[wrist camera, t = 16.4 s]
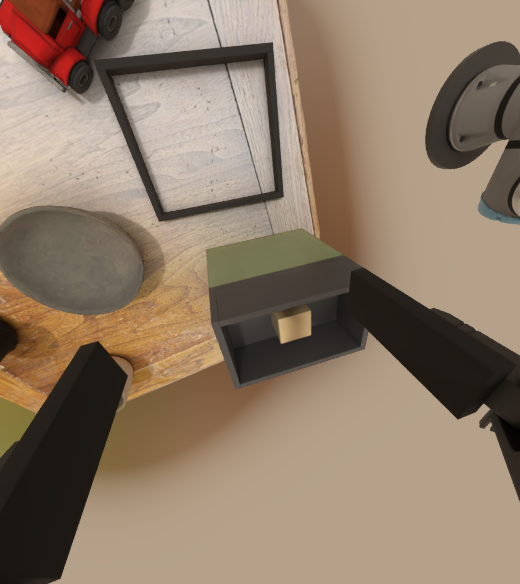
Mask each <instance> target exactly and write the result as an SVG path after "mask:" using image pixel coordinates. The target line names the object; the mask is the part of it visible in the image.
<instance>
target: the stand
mask: <svg viewBox="0 0 520 584" xmlns="http://www.w3.org/2000/svg"><path fill="white" fill-rule="evenodd" d="M206 253H207V268H208V283H209V288H211V287H215V286H219V285H223V284H227V283H231V282H236V281H240V280H244V279H248V278H252V277H256V276H260V275H264V274H268V273H272V272H276V271H280V270H284V269H288V268H292V267H296V266H300V265H304V264H308V263H312V262H317V261H321V260H325V259H329V258H333V257H337V256H341V255H343V254H341V253H340V252H338V251H336V250H335V249H333V248H332V247H330V246H329V245H327V244H326V243H324V242H322V241H321V240H319V239H318V238H316V237H315V236H313V235H311V234H310V233H308V232H307V231H305V230H304V229H297V230H293V231H288V232H284V233H279V234H275V235H270V236H266V237H261V238H257V239H252V240H248V241H243V242H239V243H234V244H230V245H225V246H221V247H216V248H212V249H207V250H206Z"/></svg>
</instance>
